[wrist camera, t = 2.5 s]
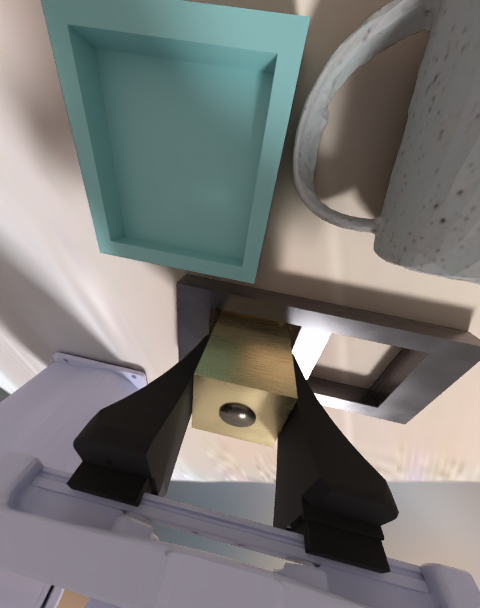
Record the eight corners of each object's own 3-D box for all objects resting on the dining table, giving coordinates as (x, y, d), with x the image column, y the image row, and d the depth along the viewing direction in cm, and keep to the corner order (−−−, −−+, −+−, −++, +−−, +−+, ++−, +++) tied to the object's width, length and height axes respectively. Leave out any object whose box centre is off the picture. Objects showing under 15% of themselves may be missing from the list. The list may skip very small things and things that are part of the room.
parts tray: (119, 246, 12) (100, 252, 11) (79, 20, 7) (36, -19, 6) (256, 273, 12) (254, 284, 10) (303, 51, 7) (310, 16, 6)
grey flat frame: (186, 358, 17) (179, 371, 15) (186, 274, 12) (176, 283, 11) (394, 405, 16) (404, 424, 14) (468, 331, 12) (493, 349, 10)
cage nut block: (218, 350, 15) (191, 429, 10) (224, 304, 13) (192, 376, 8) (272, 362, 15) (272, 449, 10) (287, 318, 13) (298, 400, 8)
